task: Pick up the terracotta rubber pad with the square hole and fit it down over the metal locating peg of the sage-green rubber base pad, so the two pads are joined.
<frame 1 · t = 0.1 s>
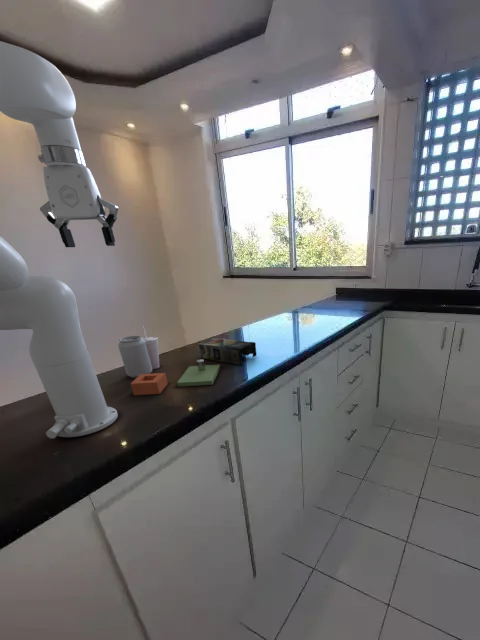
hand: (90, 246, 77), 37 cm above the table, tool pointing down, fingers open, 9 cm apart
base pad: (200, 376, 96), on the table
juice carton: (228, 358, 111), on the table
can: (140, 375, 99), on the table, touching smoothie
smoothie: (153, 367, 105), on the table, touching can
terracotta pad: (151, 389, 88), on the table
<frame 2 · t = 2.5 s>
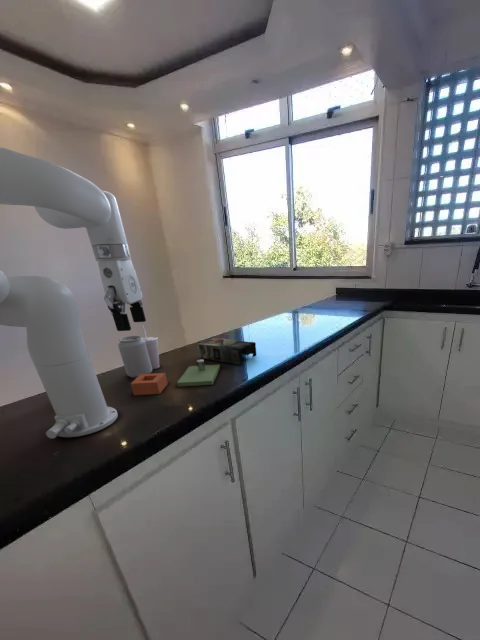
hand: (132, 325, 81), 18 cm above the table, tool pointing down, fingers open, 9 cm apart
nothing on the table moved.
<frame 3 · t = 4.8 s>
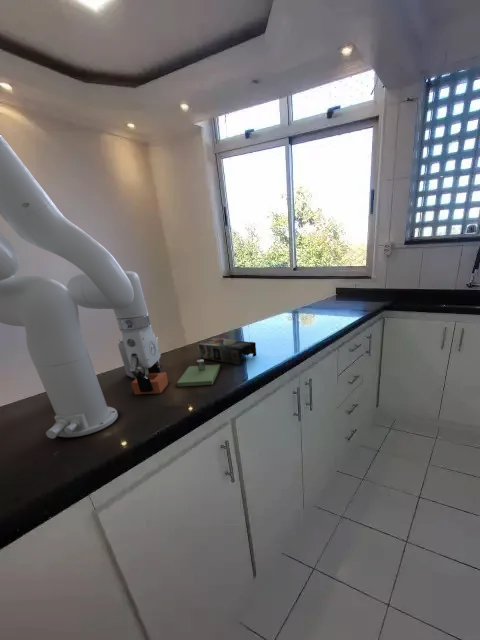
hand: (151, 385, 88), 1 cm above the table, tool pointing down, fingers closed on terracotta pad, 7 cm apart
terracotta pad: (152, 388, 88), on the table, touching gripper
everything else where it was.
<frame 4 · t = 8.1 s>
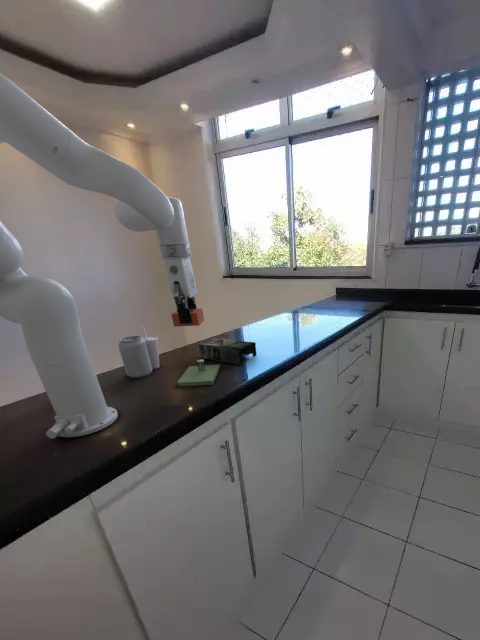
hand: (189, 319, 90), 17 cm above the table, tool pointing down, fingers closed on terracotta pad, 7 cm apart
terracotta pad: (189, 323, 91), point 16 cm above the table, touching gripper
everything else where it was.
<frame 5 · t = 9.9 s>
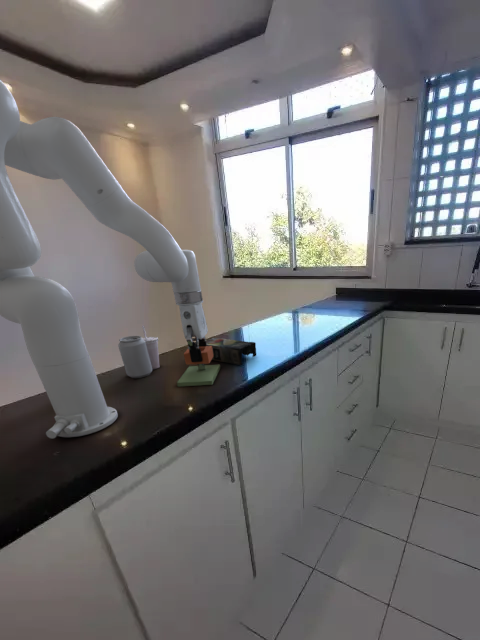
hand: (200, 357, 96), 5 cm above the table, tool pointing down, fingers closed on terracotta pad, 7 cm apart
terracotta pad: (200, 360, 96), point 4 cm above the table, touching gripper
everything else where it was.
when the fingers open (2 cm above the table, at t = 11.4 s): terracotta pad stays where it is, resting on base pad.
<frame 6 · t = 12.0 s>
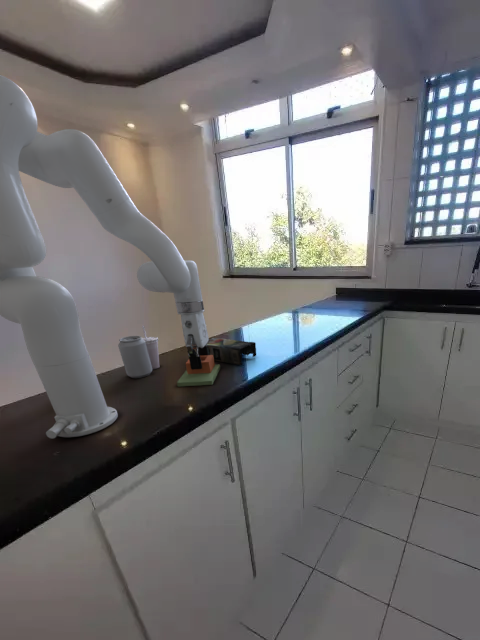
hand: (200, 363, 97), 3 cm above the table, tool pointing down, fingers open, 9 cm apart
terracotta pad: (201, 369, 98), point 1 cm above the table, touching base pad
everything else where it was.
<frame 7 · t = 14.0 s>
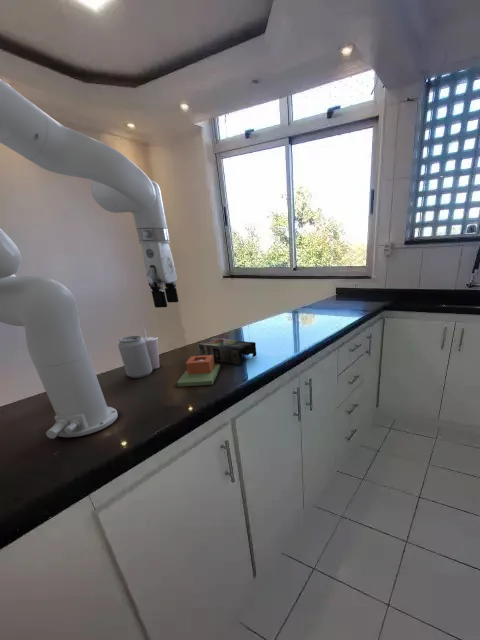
hand: (167, 304, 89), 21 cm above the table, tool pointing down, fingers open, 9 cm apart
nothing on the table moved.
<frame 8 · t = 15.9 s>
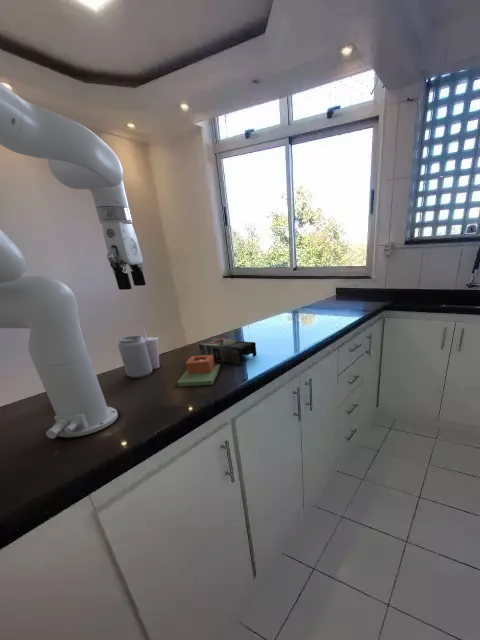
hand: (133, 287, 87), 26 cm above the table, tool pointing down, fingers open, 9 cm apart
nothing on the table moved.
at the end: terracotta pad 0.1 cm from the target spot on the base pad, point 1.2 cm above the base pad's base; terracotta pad tilted 0° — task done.
